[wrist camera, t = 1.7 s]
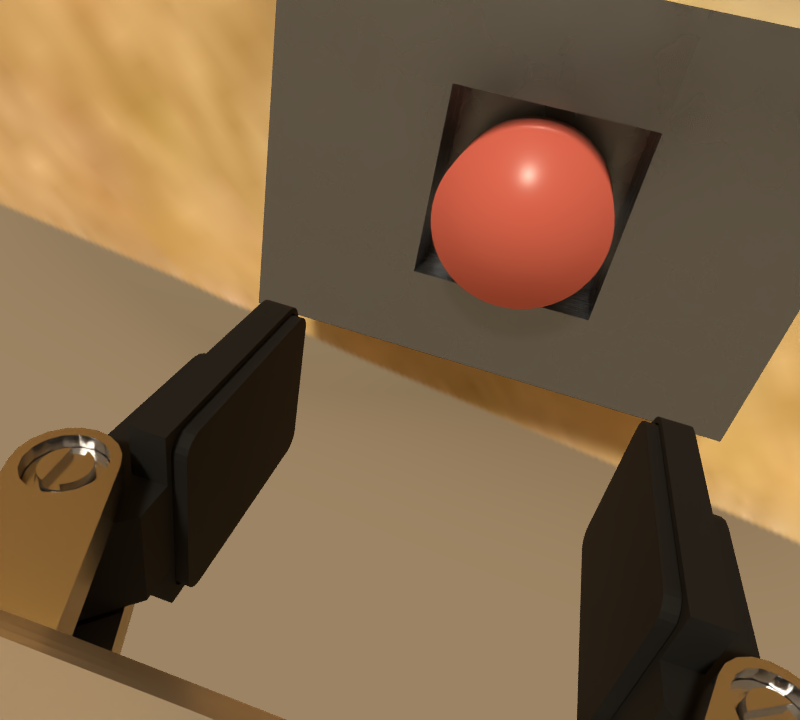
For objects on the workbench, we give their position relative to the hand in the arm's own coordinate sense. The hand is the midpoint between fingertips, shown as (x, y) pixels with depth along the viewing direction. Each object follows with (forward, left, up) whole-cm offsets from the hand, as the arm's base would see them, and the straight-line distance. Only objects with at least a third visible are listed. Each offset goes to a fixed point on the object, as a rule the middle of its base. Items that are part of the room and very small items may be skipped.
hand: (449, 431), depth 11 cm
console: (0, 0, -20) cm, 20 cm away
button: (0, 0, -15) cm, 15 cm away
